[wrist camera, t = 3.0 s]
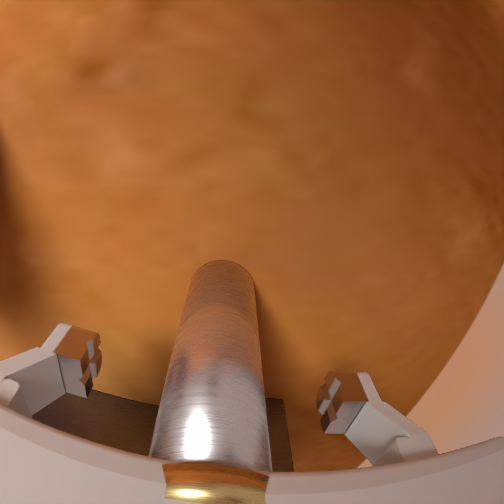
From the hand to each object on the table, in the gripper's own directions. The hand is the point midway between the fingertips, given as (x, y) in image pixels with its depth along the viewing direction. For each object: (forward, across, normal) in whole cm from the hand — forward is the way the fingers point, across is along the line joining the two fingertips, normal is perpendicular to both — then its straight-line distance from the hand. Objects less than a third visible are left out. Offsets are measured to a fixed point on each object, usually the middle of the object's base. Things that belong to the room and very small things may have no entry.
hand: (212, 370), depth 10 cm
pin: (+5, 0, 0) cm, 5 cm away
